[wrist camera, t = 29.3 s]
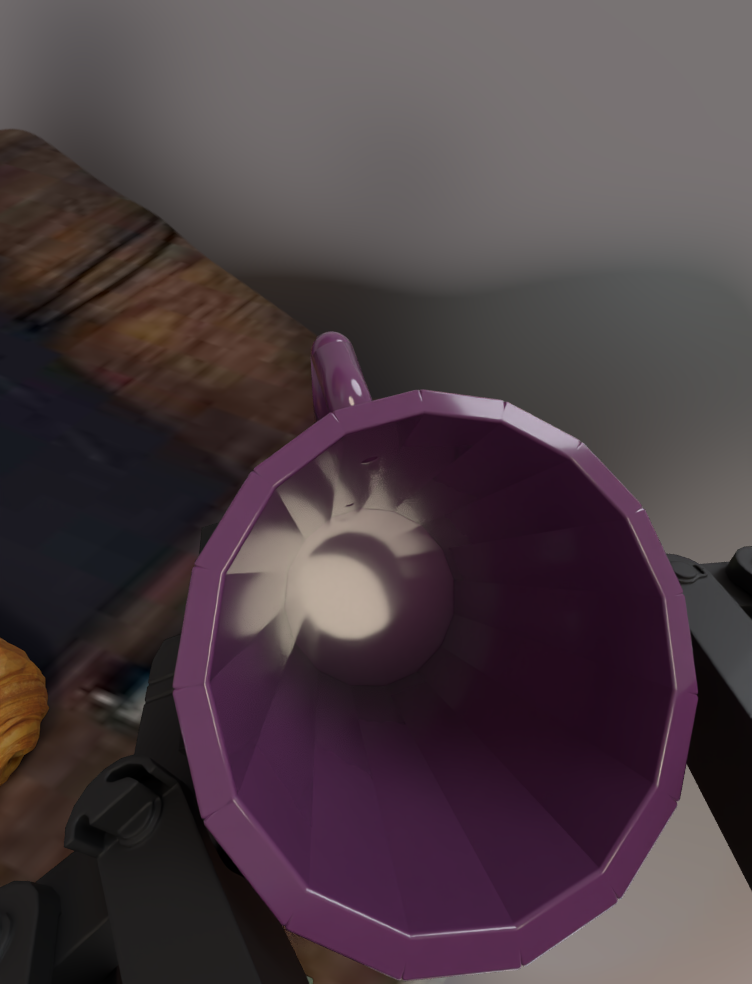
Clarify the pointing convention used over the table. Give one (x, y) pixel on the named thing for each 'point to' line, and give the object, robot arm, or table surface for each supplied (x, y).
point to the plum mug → (434, 680)
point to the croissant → (19, 707)
